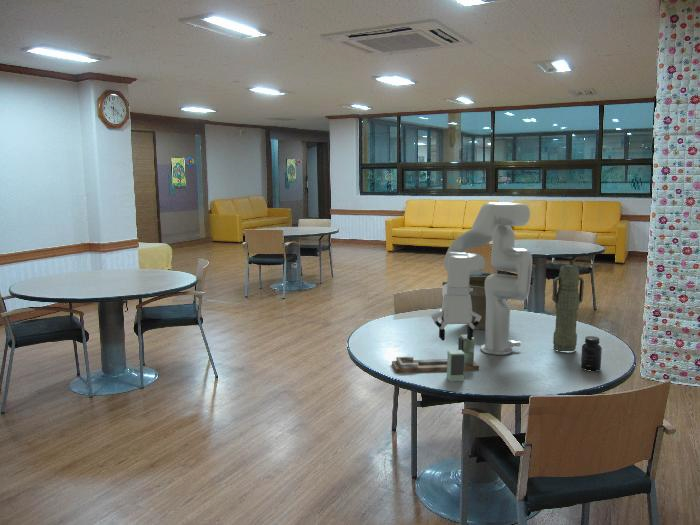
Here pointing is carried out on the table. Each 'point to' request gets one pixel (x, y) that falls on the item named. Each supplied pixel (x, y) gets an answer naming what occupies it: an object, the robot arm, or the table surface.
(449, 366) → the pale green block
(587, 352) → the supplement bottle
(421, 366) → the rail
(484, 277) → the plant pot
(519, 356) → the table surface
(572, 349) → the thermos
